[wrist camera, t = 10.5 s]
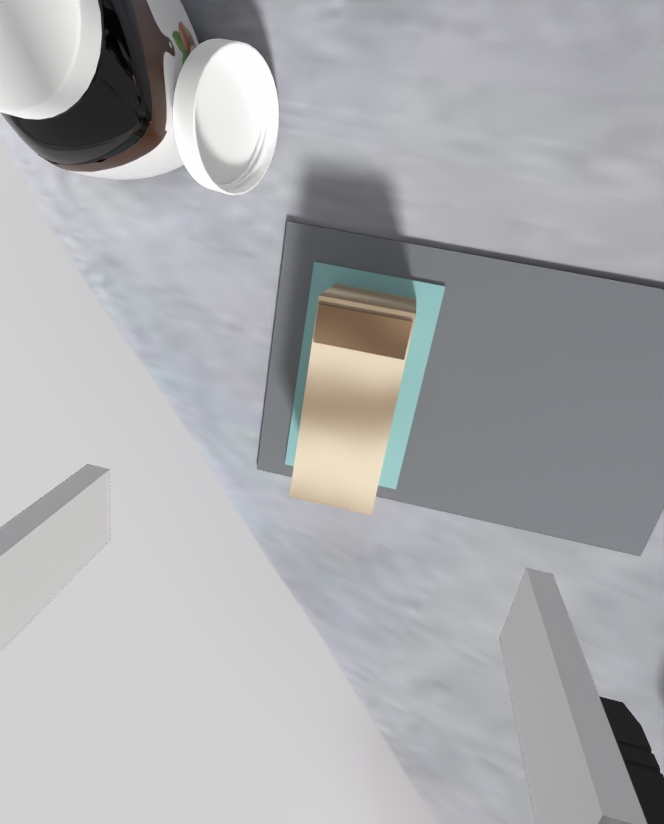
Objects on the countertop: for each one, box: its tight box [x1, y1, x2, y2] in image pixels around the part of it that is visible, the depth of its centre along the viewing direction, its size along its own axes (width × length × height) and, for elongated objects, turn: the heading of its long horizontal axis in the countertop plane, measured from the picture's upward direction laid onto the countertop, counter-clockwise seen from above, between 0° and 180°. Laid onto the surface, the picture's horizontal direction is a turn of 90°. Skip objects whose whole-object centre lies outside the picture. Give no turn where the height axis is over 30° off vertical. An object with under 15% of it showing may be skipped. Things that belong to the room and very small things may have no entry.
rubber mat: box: [257, 221, 664, 556], centre depth 32 cm, size 17×27×1 cm, turn 81°
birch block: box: [289, 284, 416, 515], centre depth 30 cm, size 12×5×6 cm, turn 171°
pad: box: [285, 262, 445, 489], centre depth 33 cm, size 14×8×1 cm, turn 171°
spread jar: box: [0, 0, 279, 195], centre depth 23 cm, size 12×11×12 cm
